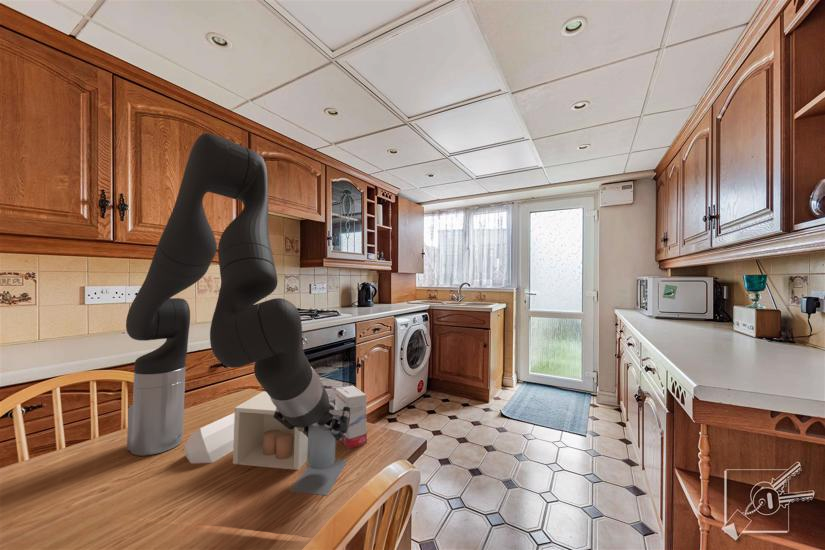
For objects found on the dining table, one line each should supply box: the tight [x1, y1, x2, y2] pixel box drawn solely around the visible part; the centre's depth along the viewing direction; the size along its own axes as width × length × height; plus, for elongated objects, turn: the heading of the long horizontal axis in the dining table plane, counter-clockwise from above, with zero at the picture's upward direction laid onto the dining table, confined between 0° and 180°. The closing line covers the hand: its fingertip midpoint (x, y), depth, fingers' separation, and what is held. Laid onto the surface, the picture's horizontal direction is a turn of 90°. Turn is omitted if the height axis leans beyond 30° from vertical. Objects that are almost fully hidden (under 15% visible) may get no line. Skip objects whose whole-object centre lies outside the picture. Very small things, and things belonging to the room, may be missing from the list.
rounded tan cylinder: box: [276, 433, 292, 459], centre depth 69 cm, size 3×3×4 cm
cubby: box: [232, 390, 308, 471], centre depth 69 cm, size 14×10×12 cm
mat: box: [288, 459, 348, 497], centre depth 62 cm, size 7×11×1 cm, turn 173°
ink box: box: [334, 385, 368, 449], centre depth 77 cm, size 9×5×12 cm, turn 33°
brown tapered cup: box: [263, 430, 280, 455], centre depth 70 cm, size 3×3×4 cm
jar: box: [306, 401, 337, 469], centre depth 62 cm, size 5×5×11 cm
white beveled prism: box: [183, 412, 235, 464], centre depth 76 cm, size 7×7×24 cm
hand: (325, 433), depth 64 cm, fingers closed on jar, 5 cm apart
